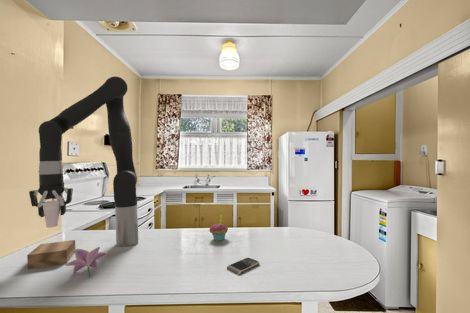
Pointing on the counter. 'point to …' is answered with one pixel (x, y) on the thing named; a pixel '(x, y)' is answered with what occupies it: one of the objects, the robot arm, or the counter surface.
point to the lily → (86, 259)
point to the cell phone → (242, 266)
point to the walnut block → (51, 254)
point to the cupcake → (218, 230)
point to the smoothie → (51, 212)
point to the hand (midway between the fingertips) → (52, 215)
